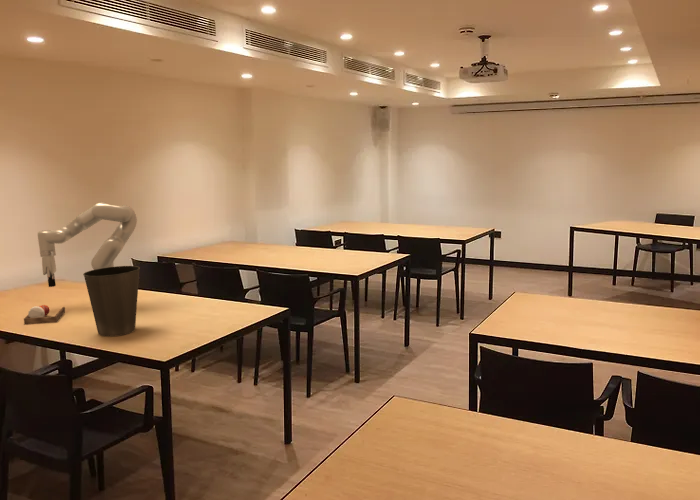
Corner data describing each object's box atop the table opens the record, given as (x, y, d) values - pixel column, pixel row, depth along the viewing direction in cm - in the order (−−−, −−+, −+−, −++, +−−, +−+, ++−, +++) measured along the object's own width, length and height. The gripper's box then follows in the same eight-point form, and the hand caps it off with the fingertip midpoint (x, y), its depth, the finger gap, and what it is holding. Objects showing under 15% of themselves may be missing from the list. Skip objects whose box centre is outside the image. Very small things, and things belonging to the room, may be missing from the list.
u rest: (65, 312, 326) (64, 307, 325) (56, 322, 306) (56, 316, 305) (34, 314, 322) (34, 308, 322) (24, 324, 302) (23, 318, 301)
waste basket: (104, 342, 272) (99, 277, 267) (77, 335, 283) (73, 272, 278) (153, 328, 294) (149, 268, 290) (126, 322, 305) (123, 264, 301)
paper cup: (52, 303, 320) (44, 306, 306) (51, 317, 320) (43, 321, 307) (36, 302, 318) (27, 306, 305) (35, 317, 319) (27, 321, 305)
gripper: (43, 251, 330) (47, 284, 333) (36, 256, 315) (41, 289, 318) (58, 250, 332) (62, 283, 335) (52, 254, 317) (56, 288, 320)
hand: (52, 286), depth 326 cm, fingers closed
